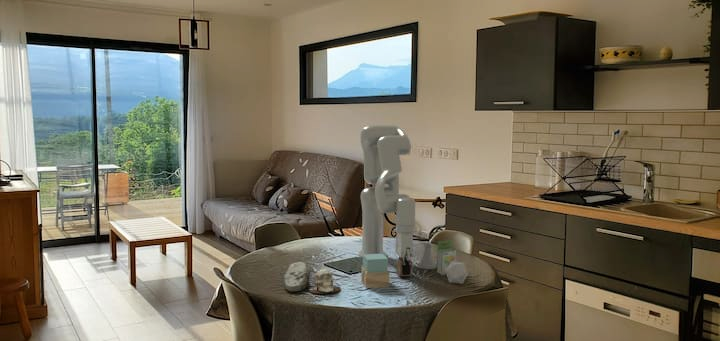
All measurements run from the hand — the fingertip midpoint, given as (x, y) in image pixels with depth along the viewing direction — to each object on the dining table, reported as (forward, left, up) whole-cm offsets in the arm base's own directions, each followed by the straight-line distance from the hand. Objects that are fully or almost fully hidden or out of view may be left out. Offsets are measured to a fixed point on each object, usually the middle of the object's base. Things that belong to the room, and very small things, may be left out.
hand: (404, 271), depth 238 cm
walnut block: (0, 0, -1) cm, 1 cm away
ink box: (-1, +18, -2) cm, 18 cm away
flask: (-11, +13, -2) cm, 17 cm away
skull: (+13, -34, -2) cm, 37 cm away
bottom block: (+8, -14, -2) cm, 16 cm away
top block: (+8, -14, +4) cm, 17 cm away
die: (+11, +18, -2) cm, 22 cm away
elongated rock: (-2, -43, -2) cm, 43 cm away
